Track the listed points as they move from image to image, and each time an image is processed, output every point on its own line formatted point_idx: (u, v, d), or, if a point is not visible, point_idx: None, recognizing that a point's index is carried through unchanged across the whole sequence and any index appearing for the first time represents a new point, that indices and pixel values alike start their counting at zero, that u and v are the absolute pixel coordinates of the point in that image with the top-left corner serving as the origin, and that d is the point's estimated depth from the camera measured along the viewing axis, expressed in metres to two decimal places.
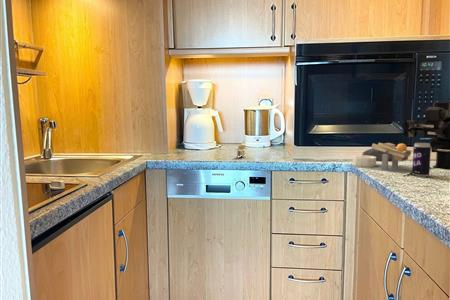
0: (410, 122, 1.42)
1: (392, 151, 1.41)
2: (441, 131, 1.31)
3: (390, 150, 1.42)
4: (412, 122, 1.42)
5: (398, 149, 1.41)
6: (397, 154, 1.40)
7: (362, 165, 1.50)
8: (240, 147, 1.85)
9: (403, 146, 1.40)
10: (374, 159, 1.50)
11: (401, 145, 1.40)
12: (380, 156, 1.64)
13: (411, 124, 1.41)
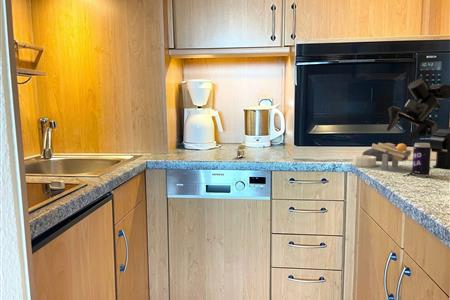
0: (392, 113, 1.47)
1: (392, 151, 1.41)
2: (415, 135, 1.40)
3: (390, 150, 1.42)
4: (394, 114, 1.47)
5: (398, 149, 1.41)
6: (397, 154, 1.40)
7: (362, 165, 1.50)
8: (240, 147, 1.85)
9: (403, 146, 1.40)
10: (374, 159, 1.50)
11: (401, 145, 1.40)
12: (380, 156, 1.64)
13: (393, 116, 1.47)
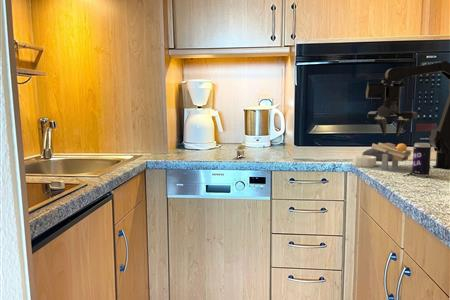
0: (377, 120, 1.56)
1: (392, 151, 1.41)
2: (399, 129, 1.52)
3: (390, 150, 1.42)
4: (379, 120, 1.55)
5: (398, 149, 1.41)
6: (397, 154, 1.40)
7: (362, 165, 1.50)
8: (240, 147, 1.84)
9: (403, 146, 1.40)
10: (374, 159, 1.50)
11: (401, 145, 1.40)
12: (380, 156, 1.64)
13: (379, 122, 1.56)
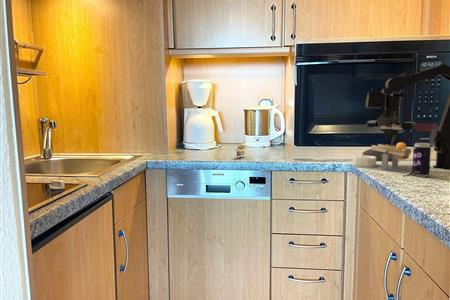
0: (382, 130, 1.54)
1: (392, 150, 1.41)
2: (393, 138, 1.54)
3: (390, 150, 1.42)
4: (384, 130, 1.54)
5: (398, 148, 1.41)
6: (397, 153, 1.40)
7: (362, 165, 1.50)
8: (240, 147, 1.84)
9: (402, 145, 1.40)
10: (374, 159, 1.50)
11: (400, 144, 1.40)
12: (380, 156, 1.64)
13: (385, 131, 1.54)
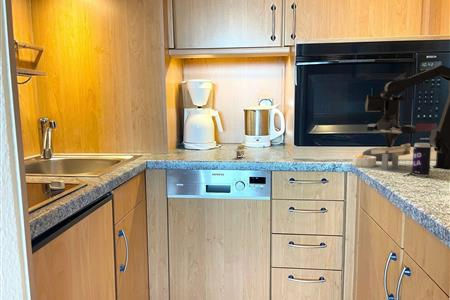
0: (382, 133, 1.55)
1: (391, 149, 1.41)
2: (392, 142, 1.54)
3: (389, 149, 1.42)
4: (384, 133, 1.54)
5: None
6: (397, 150, 1.40)
7: (362, 165, 1.50)
8: (240, 147, 1.84)
9: None
10: (374, 159, 1.50)
11: None
12: (380, 156, 1.64)
13: (384, 135, 1.55)
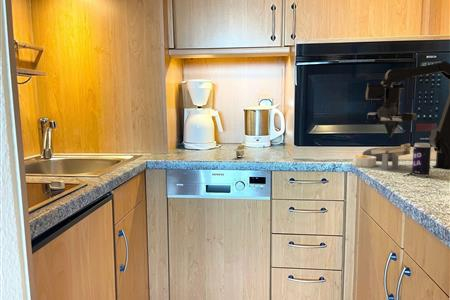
0: (382, 121, 1.54)
1: (391, 149, 1.41)
2: (393, 130, 1.54)
3: (389, 149, 1.42)
4: (384, 121, 1.53)
5: None
6: (397, 150, 1.40)
7: (362, 165, 1.50)
8: (239, 147, 1.84)
9: None
10: (374, 159, 1.50)
11: None
12: (380, 156, 1.64)
13: (385, 123, 1.54)
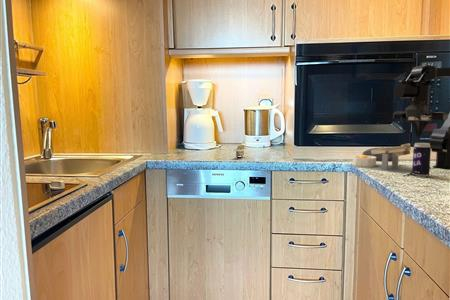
0: (410, 121, 1.46)
1: (391, 149, 1.41)
2: (421, 130, 1.46)
3: (389, 149, 1.42)
4: (412, 121, 1.46)
5: None
6: (397, 150, 1.40)
7: (362, 165, 1.50)
8: (239, 147, 1.84)
9: None
10: (374, 159, 1.50)
11: None
12: (380, 156, 1.64)
13: (413, 123, 1.46)
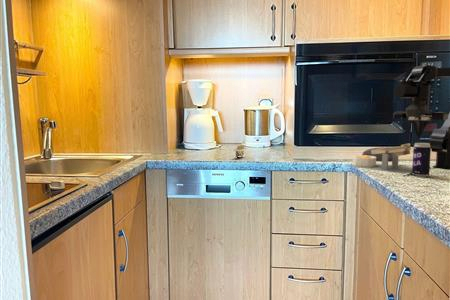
0: (410, 121, 1.46)
1: (391, 149, 1.41)
2: (422, 130, 1.46)
3: (389, 149, 1.42)
4: (412, 121, 1.46)
5: None
6: (397, 150, 1.40)
7: (362, 165, 1.50)
8: (239, 147, 1.84)
9: None
10: (374, 159, 1.50)
11: None
12: (380, 156, 1.64)
13: (413, 123, 1.46)
